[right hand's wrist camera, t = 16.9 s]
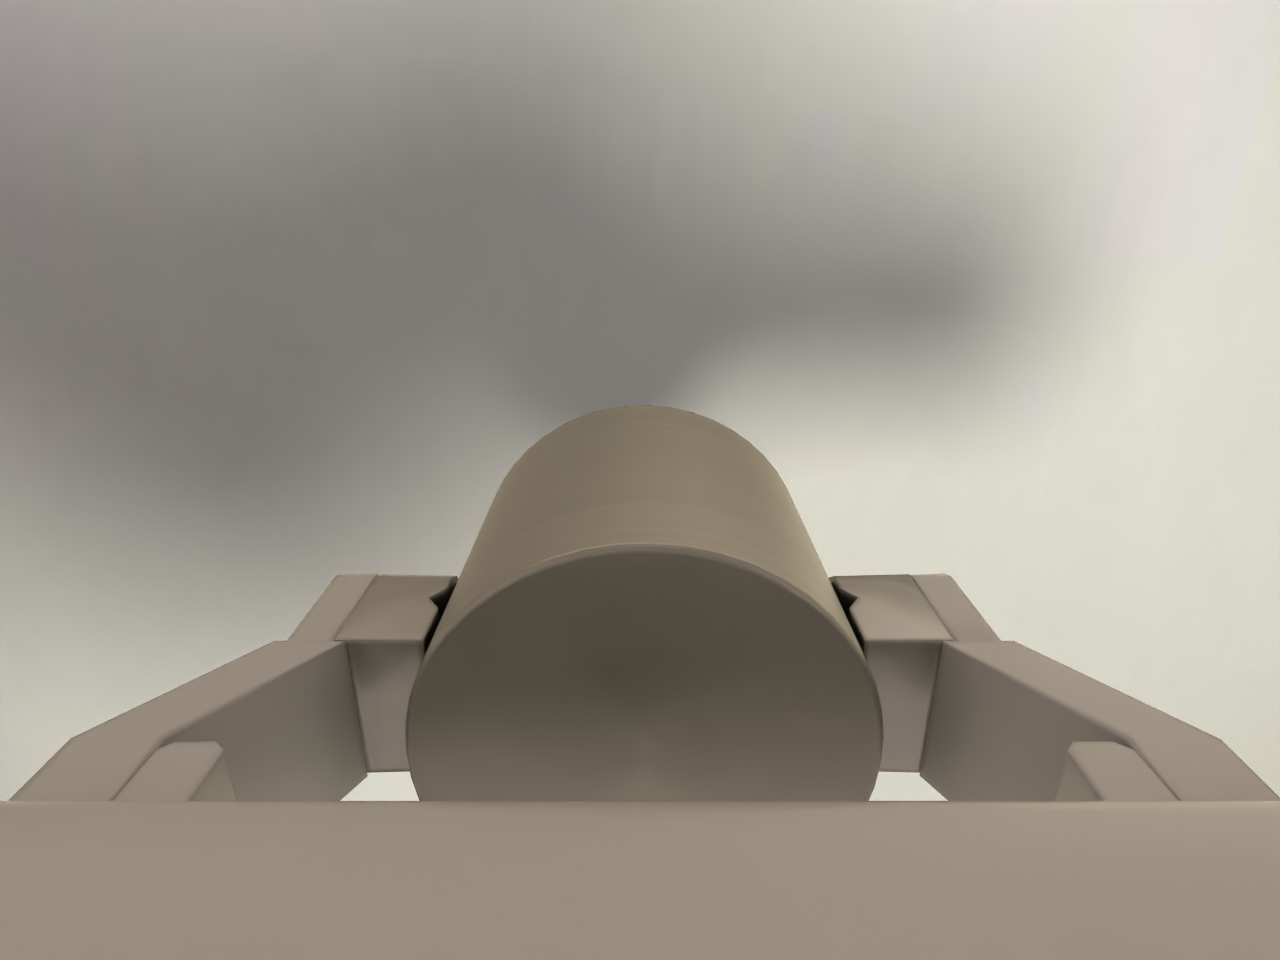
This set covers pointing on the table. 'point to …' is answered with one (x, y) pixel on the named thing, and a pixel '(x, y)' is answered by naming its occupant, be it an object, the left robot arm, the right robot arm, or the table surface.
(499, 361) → the table surface
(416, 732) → the tin
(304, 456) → the table surface
